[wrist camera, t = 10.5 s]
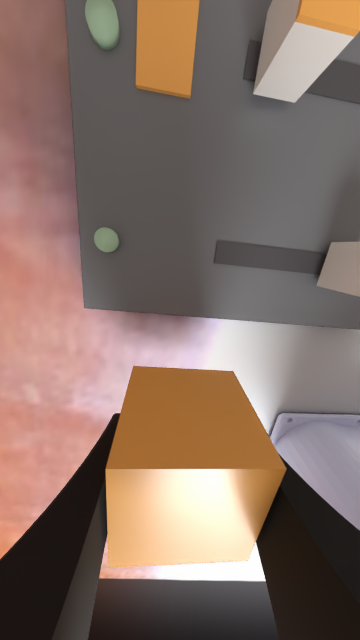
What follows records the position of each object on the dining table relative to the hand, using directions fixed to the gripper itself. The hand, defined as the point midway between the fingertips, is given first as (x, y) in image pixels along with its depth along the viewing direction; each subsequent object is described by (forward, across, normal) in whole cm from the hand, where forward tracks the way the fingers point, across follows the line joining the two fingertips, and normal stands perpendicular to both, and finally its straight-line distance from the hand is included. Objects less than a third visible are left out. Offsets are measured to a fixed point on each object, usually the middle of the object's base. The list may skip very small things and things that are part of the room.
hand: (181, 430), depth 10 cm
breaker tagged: (+4, -3, -17) cm, 17 cm away
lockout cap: (+1, 0, 0) cm, 1 cm away
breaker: (+4, -9, -9) cm, 13 cm away
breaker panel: (+6, -4, -13) cm, 14 cm away
